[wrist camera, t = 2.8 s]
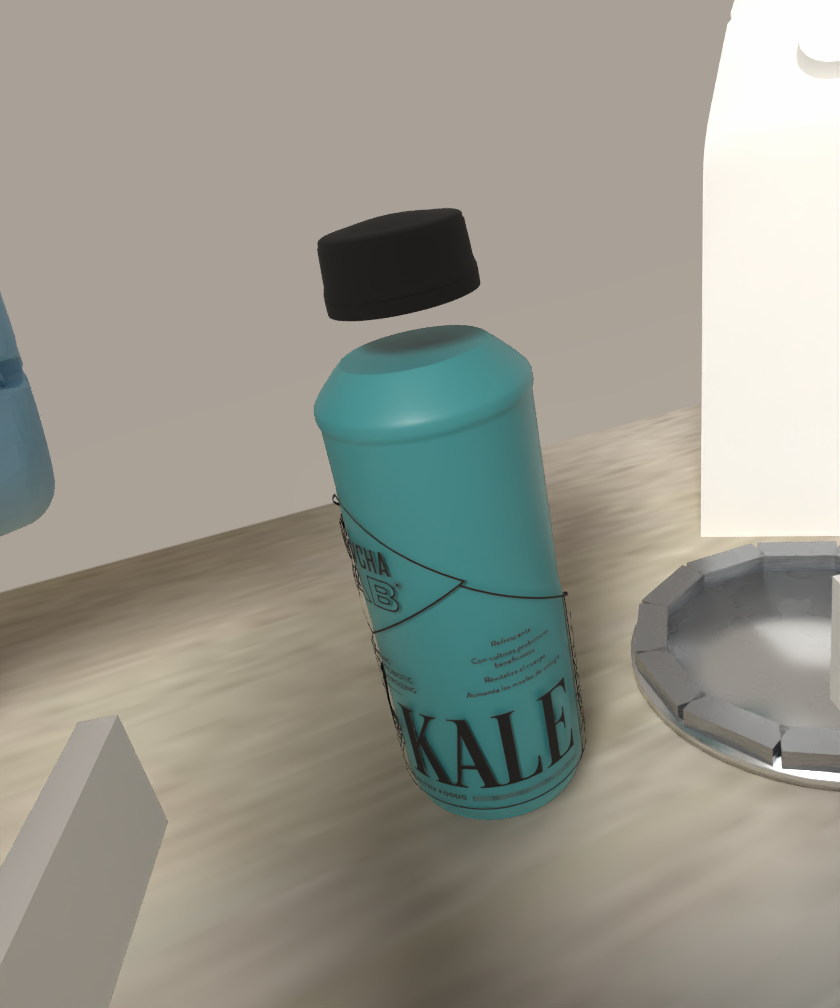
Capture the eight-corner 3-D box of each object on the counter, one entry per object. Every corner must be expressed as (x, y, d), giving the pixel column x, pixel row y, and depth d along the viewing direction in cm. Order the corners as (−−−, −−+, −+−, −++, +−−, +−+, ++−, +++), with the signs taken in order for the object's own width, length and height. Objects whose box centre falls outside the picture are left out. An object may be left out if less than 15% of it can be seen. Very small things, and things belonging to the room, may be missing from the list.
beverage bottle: (496, 700, 33) (395, 198, 24) (633, 770, 28) (567, 177, 19) (379, 798, 29) (212, 251, 21) (513, 898, 24) (369, 241, 16)
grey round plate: (618, 773, 28) (614, 746, 28) (642, 563, 40) (640, 541, 39) (1105, 813, 23) (1113, 781, 23) (970, 560, 35) (973, 535, 34)
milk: (924, 435, 46) (971, -106, 35) (975, 534, 36) (1061, -165, 25) (706, 445, 50) (685, -30, 39) (700, 536, 41) (670, -55, 30)
